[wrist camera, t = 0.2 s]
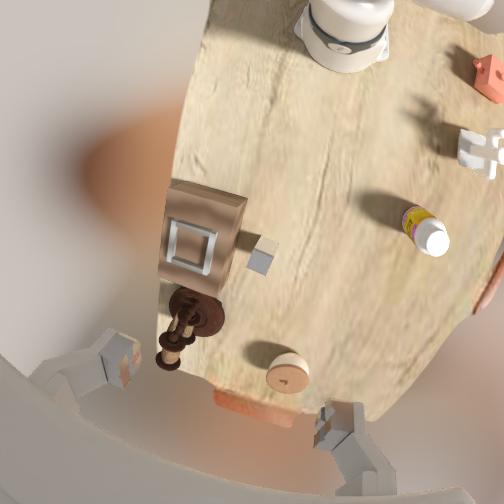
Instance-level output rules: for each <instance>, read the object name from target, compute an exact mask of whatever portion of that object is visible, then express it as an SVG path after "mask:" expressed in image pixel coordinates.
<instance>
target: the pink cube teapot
mask: <svg viewBox="0 0 504 504" xmlns="http://www.w3.org/2000/svg"><path fill="white" fill-rule="evenodd" d="M473 63H474V65H475V66H476V68H477V72H476V78H475V84H474V88H476V89H477V90H478V91H480V92H481V93H483V94H484V95H485V96H487V97H488V98H489V99H490V100H492V101H493V102H494V103H496V104H497V103H504V64H503V63H502V62H501V61H500V60H499V59H497V58H496V57H495V56H493V55H492V54H491V55H488V56H486V57H483V58H481V59H479V60H477V59H474V60H473Z"/></svg>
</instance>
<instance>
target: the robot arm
mask: <svg viewBox="0 0 504 504" xmlns="http://www.w3.org/2000/svg"><path fill="white" fill-rule="evenodd" d="M308 1H309V3H308V4H307V6H305V7H304V9H303V13H302V14H301V16H300V18H299V19H298V21H297V23H296V25H295V26H294V33H295V34H296V35H297V36H298V37H299V38H300V39H301V40H303V42H304V44H305V46H306V48H307V50H308V52H309V53H310V55H311V56H312V57H313V58H314V59H315V60H316V61H317V62H318V63H319V64H321V65H322V66H324V67H326V68H328V69H330V70H333V71H336V72H341V73H354V72H358V71H361V70H364V69H366V68H367V67H369V66H370V65H371V64H373V63H376V62H382V61H385V60H387V59H388V57H389V43H388V22H387V21H388V20H389V18H390V16H391V15H392V13H393V10H394V0H308ZM407 1H409V2H411V3H413V4H416V5H418V6H420V7H423V8H426V9H429V10H432V11H435V12H438V13H441V14H444V15H447V16H450V17H452V18H455V19H458V20H460V21H469V20H474V19H477V18H479V17H481V16H483V15H484V14H486V13H487V12H488V11H489V10H490V8H491V7H492V6H493V4H494V1H495V0H407ZM300 25H301V26H300ZM383 50H384V51H383ZM140 347H141V345H140V341H138V340H136V339H134V338H132V337H129V336H127V335H125V334H123V333H121V332H119V331H117V330H115V329H112V328H108V329H106V331H105V332H104V333H103V334H102V335H101V336H100V337H99V338H98V339H97V340H96V342H95V343H94V344H93V345H92V346H91V347H90V348H89V349H87V348H85V349H81V350H78V351H75V352H71V353H68V354H65V355H61V356H59V357H55V358H51V359H48V360H45V361H43V362H42V363H41V364H40V365H39V366H38V367H37V368H36V369H35V370H34V372H33V373H32V374H31V375H30V376H29V377H28V378H27V377H26V376H24V375H23V374H22V373H21V372H20V371H18V370H17V369H16V368H15V367H14V366H13V365H12V364H11V363H9V362H8V361H7V360H6V359H5V358H4V357H3V356H2V355H1V354H0V504H476V503H475V501H474V500H473V498H472V497H471V496H470V495H469V494H468V493H467V492H466V490H465V489H463V488H462V487H461V486H452V487H447V488H442V489H437V490H431V491H425V492H417V493H409V494H399V495H397V488H396V470H395V469H394V468H393V466H392V465H391V464H390V462H389V461H388V460H387V458H386V457H385V456H384V454H383V453H382V451H381V450H380V449H379V447H378V446H377V445H376V443H375V442H374V441H373V439H372V438H371V437H370V435H369V434H366V427H365V414H364V405H363V403H360V402H353V401H348V400H341V399H335V398H329V399H327V401H326V402H325V407H322V408H321V409H320V411H319V412H318V415H317V418H316V422H315V428H316V430H317V431H318V432H317V433H316V434H315V435H314V446H313V448H314V449H321V450H327V451H332V455H333V457H334V458H335V461H336V463H337V464H338V467H339V469H340V470H341V472H342V474H343V476H344V478H345V480H346V482H347V483H346V484H345V485H343V486H341V487H340V488H338V489H337V490H336V491H335V496H327V495H314V494H304V493H294V492H288V491H280V490H275V489H269V488H264V487H258V486H254V485H249V484H244V483H240V482H236V481H232V480H228V479H224V478H220V477H217V476H214V475H210V474H207V473H204V472H200V471H197V470H194V469H191V468H189V467H186V466H183V465H180V464H177V463H175V462H172V461H169V460H167V459H164V458H162V457H159V456H157V455H154V454H152V453H150V452H148V451H145V450H143V449H141V448H139V447H137V446H134V445H132V444H130V443H128V442H126V441H124V440H122V439H120V438H118V437H116V436H114V435H112V434H111V433H109V432H107V431H105V430H103V429H102V428H100V427H98V426H96V425H94V424H93V423H91V422H89V421H88V420H86V419H85V418H83V417H81V416H80V415H78V413H79V411H80V406H79V404H78V402H77V400H76V398H78V397H80V396H82V395H84V394H86V393H88V392H90V391H92V390H94V389H97V388H98V387H100V386H102V385H105V384H107V383H108V382H109V383H111V384H113V385H115V386H117V387H119V388H121V389H125V387H126V386H127V385H128V383H129V381H130V380H131V377H130V374H133V373H135V372H136V371H137V369H138V368H139V365H140V363H141V358H142V357H141V353H140V351H139V348H140Z"/></svg>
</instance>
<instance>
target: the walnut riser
mask: <svg viewBox="0 0 504 504" xmlns="http://www.w3.org/2000/svg"><path fill="white" fill-rule="evenodd" d="M247 199H248V198H245V197H241V196H238V195H235V194H231V193H228V192H224V191H221V190H217V189H214V188H210V187H206V186H203V185H199V184H196V183H192V182H188V181H185V182H182V183H179V184H177V185H174V186H172V187H169V188H168V193H167V199H166V206H165V214H164V221H163V229H162V238H161V247H160V256H159V266H158V276H159V277H161V278H164V279H166V280H169V281H171V282H174V283H177V284H179V285H182V286H184V287H187V288H190V289H192V290H195V291H198V292H200V293H203V294H206V295H209V296H211V297H214V298H217V296H218V295H219V293H220V292H221V290H222V288H223V287H224V285H225V283H226V282H227V280H228V276H229V272H230V268H231V264H232V259H233V255H234V251H235V247H236V243H237V239H238V235H239V231H240V227H241V223H242V219H243V215H244V211H245V207H246V203H247Z"/></svg>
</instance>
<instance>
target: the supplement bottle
mask: <svg viewBox="0 0 504 504" xmlns="http://www.w3.org/2000/svg"><path fill="white" fill-rule="evenodd" d="M402 226H403V229H404V231H405V233H406V234H407V235H408V236H409V238H410V239H411V240H412V241H413V243H414V244H415V245H416V247H417V248H418V249H419V250H420V251H421V252H423V253H425V254H430V255H432V256H434V257H438V256H441V255H443V254H444V253H445V252H446V251H447V249H448V247H449V237H448V235H447V232H446V228H445V226H444V224H443V223H442V222H441V221H440V220H438V219H437V218H436V217H435V216H433V215H432V214H431V213H430V212H428V211H427V210H426V209H424V208H422V207H419V206H415V207H412V208H410V209H408V210H407V211H406V212H405V214H404V216H403V219H402Z"/></svg>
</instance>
